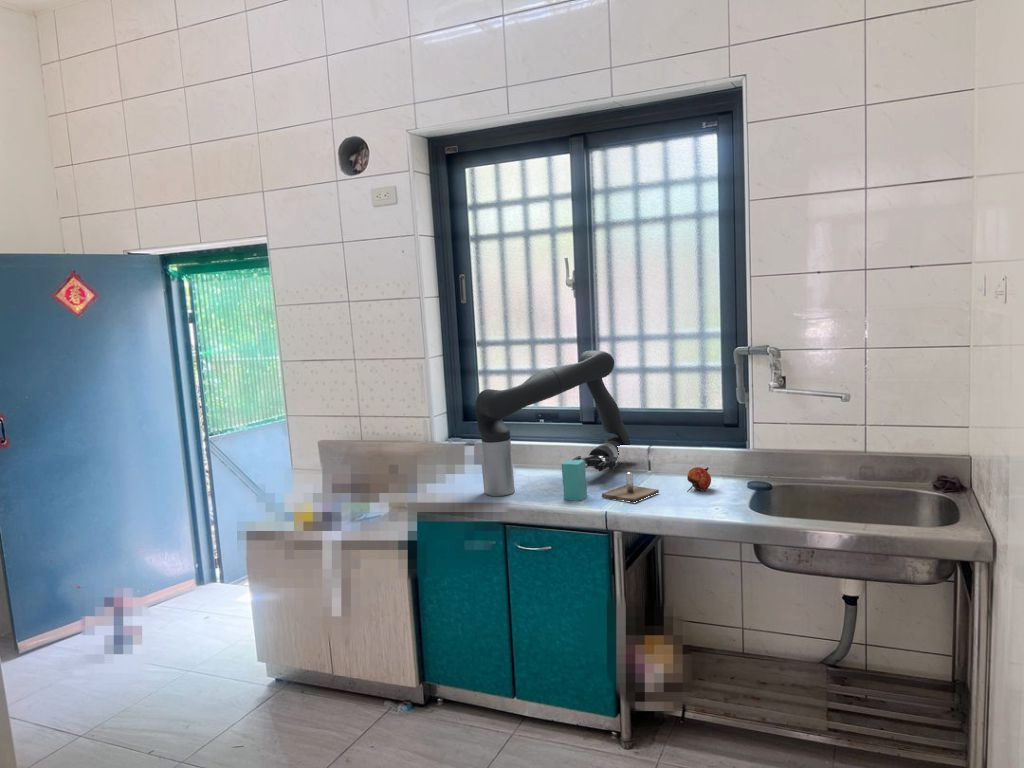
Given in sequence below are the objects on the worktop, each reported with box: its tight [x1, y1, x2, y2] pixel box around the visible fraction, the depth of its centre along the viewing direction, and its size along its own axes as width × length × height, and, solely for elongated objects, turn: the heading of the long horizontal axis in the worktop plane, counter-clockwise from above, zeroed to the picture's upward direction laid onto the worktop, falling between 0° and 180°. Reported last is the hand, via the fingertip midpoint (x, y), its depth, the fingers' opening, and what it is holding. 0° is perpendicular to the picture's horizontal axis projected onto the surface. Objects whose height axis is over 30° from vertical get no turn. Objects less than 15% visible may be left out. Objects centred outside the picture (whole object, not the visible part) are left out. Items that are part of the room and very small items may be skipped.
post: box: [625, 471, 634, 493], centre depth 217 cm, size 2×2×6 cm
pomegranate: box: [686, 466, 712, 493], centre depth 217 cm, size 7×7×10 cm
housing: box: [561, 459, 588, 501], centre depth 220 cm, size 5×5×11 cm
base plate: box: [601, 484, 660, 502], centre depth 218 cm, size 12×12×1 cm
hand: (586, 467), depth 229 cm, fingers open, 8 cm apart
